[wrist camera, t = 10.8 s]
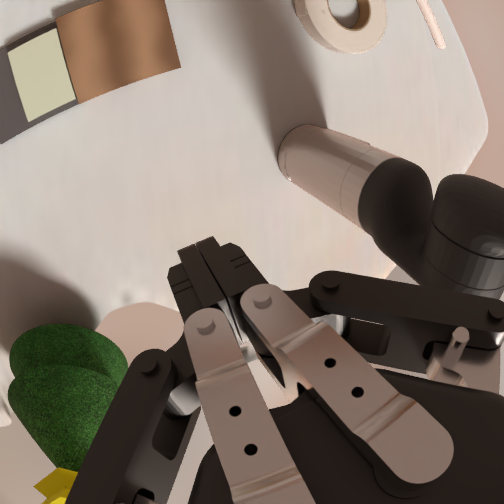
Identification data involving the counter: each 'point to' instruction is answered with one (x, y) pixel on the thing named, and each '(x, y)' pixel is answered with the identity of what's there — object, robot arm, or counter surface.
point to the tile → (42, 74)
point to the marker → (432, 23)
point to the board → (116, 44)
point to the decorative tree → (63, 395)
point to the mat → (7, 96)
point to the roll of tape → (337, 36)
